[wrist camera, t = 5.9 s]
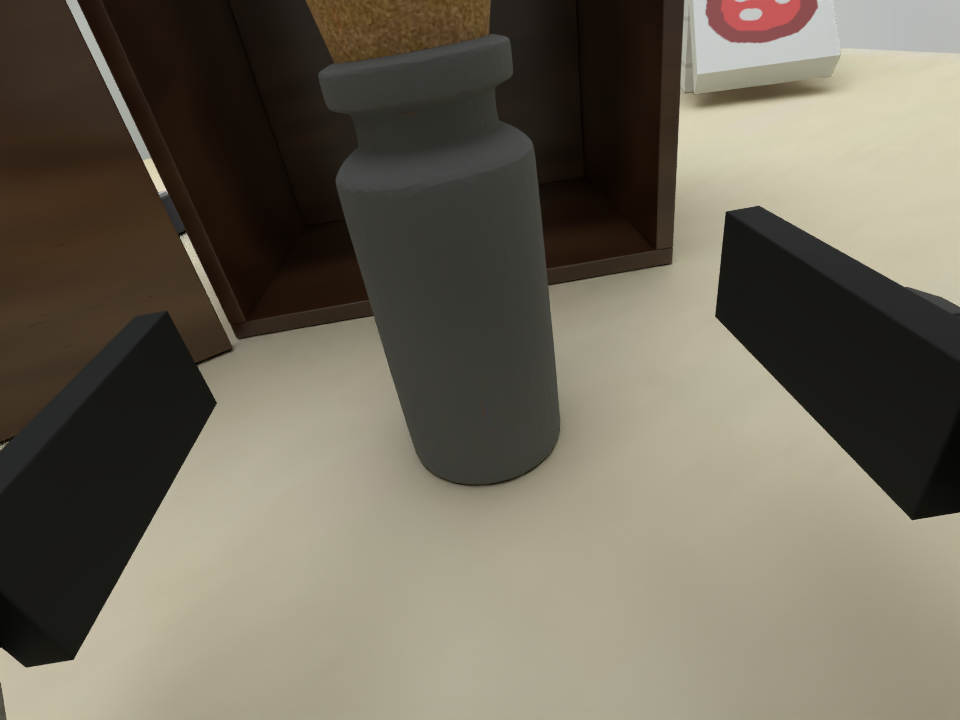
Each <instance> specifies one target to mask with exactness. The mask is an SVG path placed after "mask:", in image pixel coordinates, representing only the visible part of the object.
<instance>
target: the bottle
mask: <svg viewBox="0 0 960 720" xmlns="http://www.w3.org/2000/svg"><path fill="white" fill-rule="evenodd" d="M306 2H307V5H308V7H309V9H310V11H311V13H312V15H313V18H314V20H315V22H316V24H317V26H318V28H319V31H320V33H321V35H322V37H323V39H324V41H325V44H326V46H327V48H328V50H329V52H330V54H331V57H332V59H333V61H334V63H333V64H331V65H329V66H327V67H326V68H325V69H323V70H322V71H320V72H319V74H318V77H319V82H320V86H321V89H322V93H323V96H324V100H325V103H326V105H327V107H328V109H329V110H331V111H334V112H338V113H344V114H349V115H350V116H351V119H352V121H353V124H354V127H355V131H356V135H357V139H358V148H357V149H356V150H355V151H354V152H353V153H351V155H350V156H349V157H348V158H347V159H346V160H345V161H344V163H343V164H342V166H341V167H340V169H339V171H338V174H337V177H336V187H337V190H338V194H339V198H340V201H341V205H342V209H343V212H344V216H345V220H346V223H347V227H348V230H349V233H350V237H351V240H352V243H353V247H354V250H355V253H356V257H357V260H358V264H359V267H360V270H361V274H362V277H363V280H364V284H365V287H366V290H367V294H368V297H369V300H370V304H371V307H372V311H373V314H374V317H375V321H376V324H377V327H378V331H379V334H380V337H381V341H382V344H383V348H384V351H385V354H386V358H387V361H388V364H389V368H390V371H391V374H392V378H393V381H394V384H395V387H396V391H397V394H398V397H399V400H400V403H401V407H402V410H403V413H404V416H405V420H406V423H407V426H408V429H409V432H410V436H411V439H412V441H413V444H414V447H415V450H416V453H417V455H418V457H419V459H420V460H421V462H422V463H423V465H424V466H425V467H426V468H427V469H428V470H430V471H431V472H432V473H434V474H435V475H437V476H439V477H441V478H444V479H446V480H449V481H452V482H456V483H460V484H473V485H476V484H492V483H496V482H500V481H504V480H508V479H512V478H514V477H517V476H519V475H522V474H524V473H525V472H527V471H529V470H530V469H532V468H534V467H535V466H537V465H538V464H539V463H540V462H541V461H542V460H543V459H545V458H546V457H547V456H548V455H549V453H550V452H551V451H552V449H553V447H554V445H555V444H556V442H557V439H558V435H559V430H560V414H559V402H558V390H557V378H556V366H555V354H554V343H553V333H552V322H551V312H550V301H549V291H548V280H547V270H546V260H545V249H544V239H543V228H542V218H541V208H540V198H539V188H538V179H537V169H536V159H535V152H534V146H533V144H532V141H531V140H530V139H529V138H528V137H527V136H526V134H524V133H523V132H521V131H520V130H519V129H517V128H515V127H513V126H511V125H509V124H507V123H504V122H502V121H499V118H498V114H497V109H496V101H495V88H496V86H498V85H499V84H501V83H503V82H504V81H506V80H508V79H509V78H510V77H511V76H512V75H513V63H512V52H511V44H510V40H509V39H508V38H507V37H506V36H502V35H496V34H489V24H490V3H491V0H306Z"/></svg>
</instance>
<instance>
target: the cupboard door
mask: <svg viewBox="0 0 960 720" xmlns="http://www.w3.org/2000/svg"><path fill="white" fill-rule="evenodd" d="M162 311H168V313H169V315H170V317H171V319H172V320H173V322H174V324H175V326H176V328H177V330H178V332H179V334H180V335H181V337H182V339H183V341H184V343H185V345H186V347H187V348H188V350H189V352H190V354H191V356H192V358H193V360H194V361H195V363H197V362H199V361H201V360H204V359H206V358H209V357H211V356H214V355H216V354H219V353H221V352H224V351H226V350H229V349H231V348H232V345H231V343H230V341H229V339H228V337H227V335H226V333H225V331H224V329H223V326H222V324H221V322H220V320H219V318H218V316H217V314H216V312H215V310H214V308H213V306H212V304H211V302H210V299H209V297H208V295H207V293H206V291H205V289H204V287H203V285H202V283H201V281H200V279H199V277H198V275H197V272H196V270H195V268H194V266H193V264H192V262H191V260H190V258H189V256H188V254H187V252H186V250H185V248H184V245H183V243H182V241H181V239H180V237H179V235H178V233H177V231H176V229H175V227H174V225H173V223H172V221H171V218H170V216H169V214H168V212H167V210H166V208H165V206H164V204H163V202H162V200H161V198H160V196H159V194H158V191H157V189H156V187H155V185H154V183H153V181H152V179H151V177H150V175H149V173H148V171H147V169H146V167H145V164H144V162H143V160H142V158H141V156H140V154H139V152H138V150H137V148H136V146H135V144H134V142H133V140H132V137H131V135H130V133H129V131H128V129H127V127H126V125H125V123H124V121H123V119H122V117H121V115H120V113H119V110H118V108H117V107H116V104H115V102H114V100H113V98H112V96H111V94H110V92H109V90H108V88H107V86H106V84H105V82H104V79H103V77H102V75H101V74H100V71H99V69H98V67H97V65H96V63H95V61H94V59H93V57H92V55H91V52H90V50H89V48H88V46H87V44H86V42H85V40H84V38H83V36H82V34H81V32H80V30H79V28H78V26H77V23H76V21H75V19H74V17H73V15H72V13H71V11H70V9H69V7H68V5H67V3H66V0H0V442H1V441H3V440H6V439H8V438H11V437H13V436H15V435H17V434H18V433H19V432H20V431H21V430H22V429H23V428H24V427H25V426H26V425H27V424H28V423H29V422H30V421H31V420H32V419H33V418H34V417H35V416H36V415H37V414H38V413H39V412H40V411H41V410H42V409H43V408H44V407H45V406H46V405H47V404H48V403H49V402H50V401H51V400H52V399H53V398H54V397H55V396H56V395H57V394H58V393H59V392H60V391H61V390H62V389H63V388H64V387H65V386H66V385H67V384H68V383H69V382H70V381H71V380H72V379H73V378H74V377H75V376H76V375H77V374H78V373H79V372H80V371H81V370H82V369H83V368H84V367H85V366H86V365H87V364H88V363H89V362H90V361H91V360H92V359H93V358H94V357H95V356H96V355H97V354H98V353H99V352H100V351H101V350H102V349H103V348H104V347H105V346H106V345H107V344H108V343H109V342H110V341H111V340H112V339H113V338H114V337H115V336H116V335H117V334H118V333H119V332H120V331H121V330H122V329H123V328H124V327H125V326H126V325H127V324H128V323H129V322H130V321H131V320H132V319H133V318H134V317H135V316H139V315H145V314H151V313H156V312H162Z"/></svg>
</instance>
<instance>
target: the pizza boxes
mask: <svg viewBox="0 0 960 720" xmlns="http://www.w3.org/2000/svg"><path fill="white" fill-rule="evenodd" d="M840 56H841V52H840V45H839V39H838V31H837V25H836V18H835V12H834V5H833V0H684V19H683V40H682V62H681V83H680V87H681V88H682V90H683V91H684V93H687V92H694V94H700V93H708V92H716V91H723V90H731V89H739V88H746V87H754V86H762V85H770V84H777V83H785V82H793V81H801V80H808V79H816V78H824V77H831V75H832V73H833V70H834V68H835V66H836V64H837V62H838V60H839V58H840Z"/></svg>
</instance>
